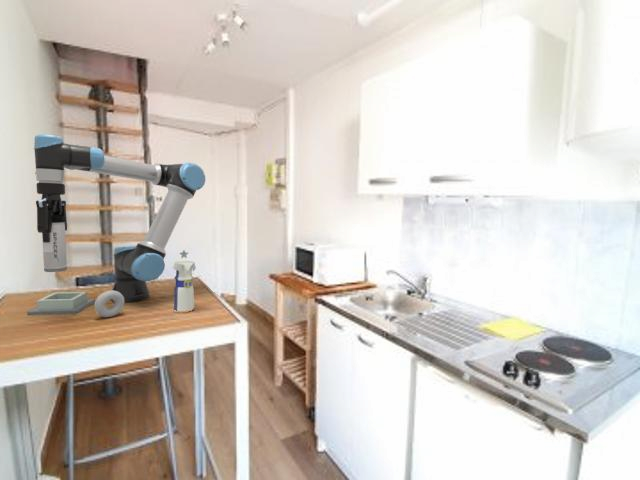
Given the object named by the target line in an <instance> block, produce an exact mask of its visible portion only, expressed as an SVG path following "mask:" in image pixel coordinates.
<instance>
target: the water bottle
mask: <svg viewBox="0 0 640 480" xmlns="http://www.w3.org/2000/svg"><path fill="white" fill-rule="evenodd" d="M179 254H180V255H181V259H183V258H188V257H187V255H189V252H186V250H185V249H183V250H182V252H179ZM172 269H173V270H175V271H176V273H175V276H174V280H175V286H174V295H173V301H174V302H173V311H174V310H176V311H186V310H190V309H192V308H194V309H195V298H194V295H195V294H194V293H195V292H194V286H193V279H194V276H193V273H192V272H194V271H195V270H196V264H195V261H191V260H189V261H188V260H181V261H175V262H174V263H173V265H172Z"/></svg>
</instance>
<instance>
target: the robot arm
mask: <svg viewBox="0 0 640 480" xmlns="http://www.w3.org/2000/svg"><path fill="white" fill-rule="evenodd" d="M33 145H34V148H33V150H34V160H35V162H34V163H35V172H34V174H35V176H36V177H35V178H36V181H37V183H36V185H35V186H36V193H37V195H41V200H36V201H35V205H36V220H37V221H36V225H37V226H36V227H37V228H36V230H37V232H38V233H39V234H41V238H42V237H43V241H42V253H43V252H54V245H53V233H51V228H52V215H60V214H62V215H64V221H65V232H66V231H68V222H67V221H68V220H67V219H68V218H67V210H66V209H67V206H66V205H67V201H66V200H62V197H61V196H63V195H65V194H66V184H65V182H66V179H65V169H67V170H71V171H73V170H77V171H84V172H91V173H94V174H95V173H96V174H102V175H108V176H113V177H120V178H127V179H132V180H136V181H137V180H138V181H144V182H149V183H152V185H154V186H159V187H164V188H167V190H168V191H167V193H166V194H165V195H166V196H165V197H164V199H163V200H162V202H161V205H160V207H159V209H158V211H157V213H156V215H155V217H154V218H153V221H152V223H151V225H150V227H149V229H148V231H147V233H146V235H145V237H144V239H143V240H142V241H140V242H137V244H136V245H134V246H133V245H131V246H130V245H129V246H117V247H116V248H114V253H113V262H114V264H113V265H114V266H113V267H114V270H113V271H114V282H113V286H112V289H111V290H114V291H118V292H119V293H121V294H122V295H123V297H124V301H125V302H124V303H132V302H133V301H134V302H139V301H143V299H144V300H146V298H147V299H149V297H150V290H149V286H148V284H147V282H150V281H154V280H157V279H158V278H159V277H160V276H161V275H162V274H163V273H164V271H165V267H166V263H165V260H164V259H165V257H166V255H167V253H166V249H165V248H166V246H167V244H168V242H169V240H170V238H171V236H172V233H173V231H174V229H175V227H176V225H177V223H178V220H179V219H180V217H181V215H182V212H183V210H184V208H185V206H186V204H187V202H188V201H189V200H191V199H193V198H194V196H195V195H196V192H197V191H199V190H200V189H202V188H204V186H205V183H206V175H205V172H204V169H203V168H201V166H199V165H198V164H196V163H193V162H192V163H191V162H184V163H174V164H162V163H154V164H150V163H144V162H140V161H136V160H134V161H133V160H130V159H125V158H120V157H114V156H109V155H105V153H104V151H103V149H101V148H98V147H93V146H85V145H76V144H75V145H74V144H67V143H65V142H64V140H63V137H61V136H59V135H53V134H45V133H44V134H42V133H41V134H37V135H36V134H35V136H34V143H33ZM110 301H112V302H114V300H112V299H110Z"/></svg>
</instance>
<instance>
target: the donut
mask: <svg viewBox="0 0 640 480" xmlns="http://www.w3.org/2000/svg"><path fill="white" fill-rule="evenodd" d="M111 299H112V300H114V301H113V305H112V306H111V307H106V304H107V302H108V301H111ZM125 303H126V302H125V301H124V297H123V295H122V294H121V293H119V292H118V291H114V290H112V289H111V290H105V291H104V292H102V293H101V294H99V295H98V296H97V297H96V298H95V302H94V303H93V304H94V305H93V307H94V310H95V312H96V315H98V316H99V317H103V318H111V317H114V316H117V315H118V314H119V313H120V312H121V311H122V310H123V308H124V306H125Z"/></svg>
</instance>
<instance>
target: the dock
mask: <svg viewBox="0 0 640 480" xmlns="http://www.w3.org/2000/svg"><path fill="white" fill-rule="evenodd" d="M95 301H96V298H88V291H69V292H68V291H67V292H63V291H61V292H59V291H58V292H57V291H56V292H52V293H50V294H48V295H46V296H44V297H41V298H40V299H38V300H36V302H37V303H36V305H37V306H36V307H34V308H32V309H30V310H28V311H27V316H39V315H46V316H47V315H75V314H79V313H81V312H82V311H83V310H85V309H87V308H88V307H89V306H91V305H93V304H95Z"/></svg>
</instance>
